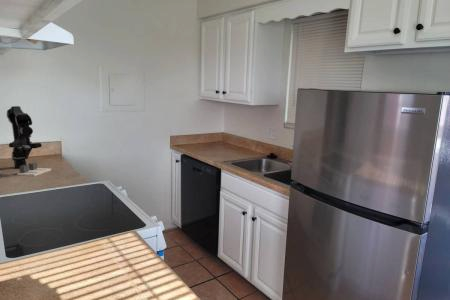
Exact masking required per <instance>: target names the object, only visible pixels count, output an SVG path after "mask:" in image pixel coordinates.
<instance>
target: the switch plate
mask: <svg viewBox="0 0 450 300" xmlns="http://www.w3.org/2000/svg"><path fill="white" fill-rule="evenodd" d="M50 171H52V168H49V167H48V168H43V167H37V169H34V170H30V169H29V171H28V172H25V173H23V172H20V171H19V172H17V174H16V175H17V176H28V177H36V176H39V175H42V174H44V173H48V172H50Z"/></svg>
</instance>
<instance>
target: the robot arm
mask: <svg viewBox="0 0 450 300" xmlns="http://www.w3.org/2000/svg"><path fill="white" fill-rule="evenodd" d="M6 118H7V119H8V122H9V123H10V124H11V128H12V134H13V135H12V136H13V141H12V142H9V143H8V148H12V151H11V160H12V161H13V164H14V167H13V170H20V166H22V165H27V161H26V160H28V158H29V156H30V153H31V151H32V150H33V149H39V148H42V147H43V146H42V143H41V142H32V141H31V137H32V134H33V133H34V130H33V128H32V127H31V126H32V125H33V120H32V117H31V116H30V115H29V114H28V113H27V112H26V113H25V112H24V111H23V110H22V108H21V106H19V105H15V106H14V105H13V106H11V107H10V108H9V109H7V110H6Z"/></svg>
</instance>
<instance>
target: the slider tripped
mask: <svg viewBox="0 0 450 300" xmlns="http://www.w3.org/2000/svg"><path fill="white" fill-rule="evenodd" d="M29 170H30V169H29V164H26V165H22V166H20V169H19V173H20V172H23V173H25V172H28V171H29Z"/></svg>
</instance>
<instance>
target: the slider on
mask: <svg viewBox="0 0 450 300" xmlns="http://www.w3.org/2000/svg"><path fill="white" fill-rule="evenodd" d="M28 167H29V170H34V169H37V168H38V162H35V161H33V162H29V163H28Z"/></svg>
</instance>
